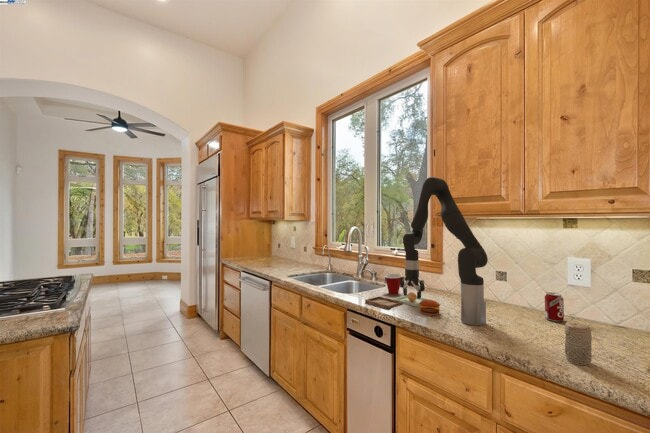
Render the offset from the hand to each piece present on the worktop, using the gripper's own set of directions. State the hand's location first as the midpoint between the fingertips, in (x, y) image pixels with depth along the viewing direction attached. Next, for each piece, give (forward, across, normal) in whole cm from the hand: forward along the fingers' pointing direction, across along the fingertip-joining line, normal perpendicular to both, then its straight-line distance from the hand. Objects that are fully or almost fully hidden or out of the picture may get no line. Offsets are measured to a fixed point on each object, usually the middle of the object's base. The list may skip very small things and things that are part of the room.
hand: (411, 297), depth 163 cm
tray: (+3, +8, +15) cm, 17 cm away
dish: (+3, 0, 0) cm, 3 cm away
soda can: (+3, -59, -23) cm, 64 cm away
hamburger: (+3, -17, +11) cm, 21 cm away
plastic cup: (+3, +18, -7) cm, 19 cm away
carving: (+2, -74, +21) cm, 77 cm away
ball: (+2, 0, 0) cm, 2 cm away
